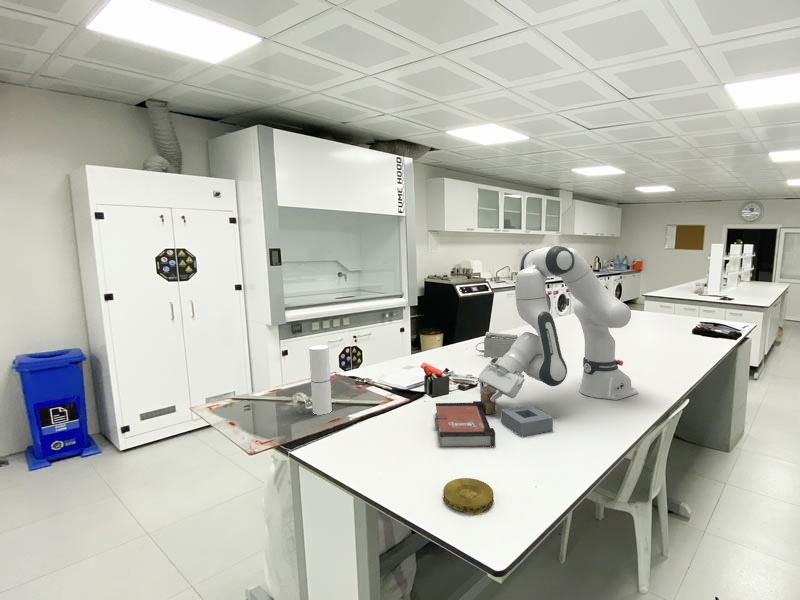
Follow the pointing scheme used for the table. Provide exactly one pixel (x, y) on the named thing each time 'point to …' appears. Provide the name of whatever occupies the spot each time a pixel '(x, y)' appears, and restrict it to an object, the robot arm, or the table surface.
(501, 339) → the geiger counter
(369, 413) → the table surface
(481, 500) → the gold round disc
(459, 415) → the book
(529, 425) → the socket block
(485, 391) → the peg
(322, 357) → the cylindrical container
